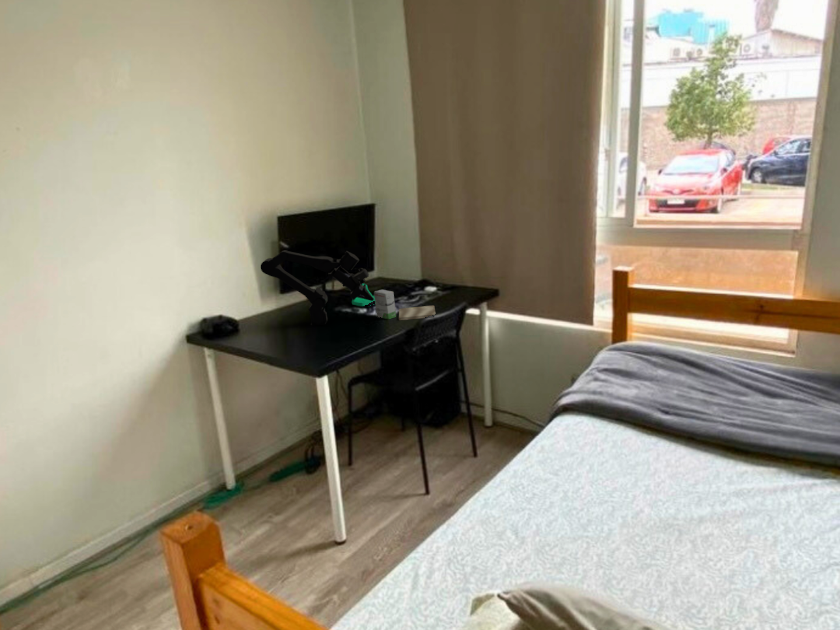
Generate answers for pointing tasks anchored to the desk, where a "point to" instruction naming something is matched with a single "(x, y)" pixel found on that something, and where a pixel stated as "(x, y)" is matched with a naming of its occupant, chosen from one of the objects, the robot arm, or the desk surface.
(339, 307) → the desk surface
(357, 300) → the camera mount
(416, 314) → the birch board
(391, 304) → the ink box
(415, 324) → the desk surface
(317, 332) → the desk surface
